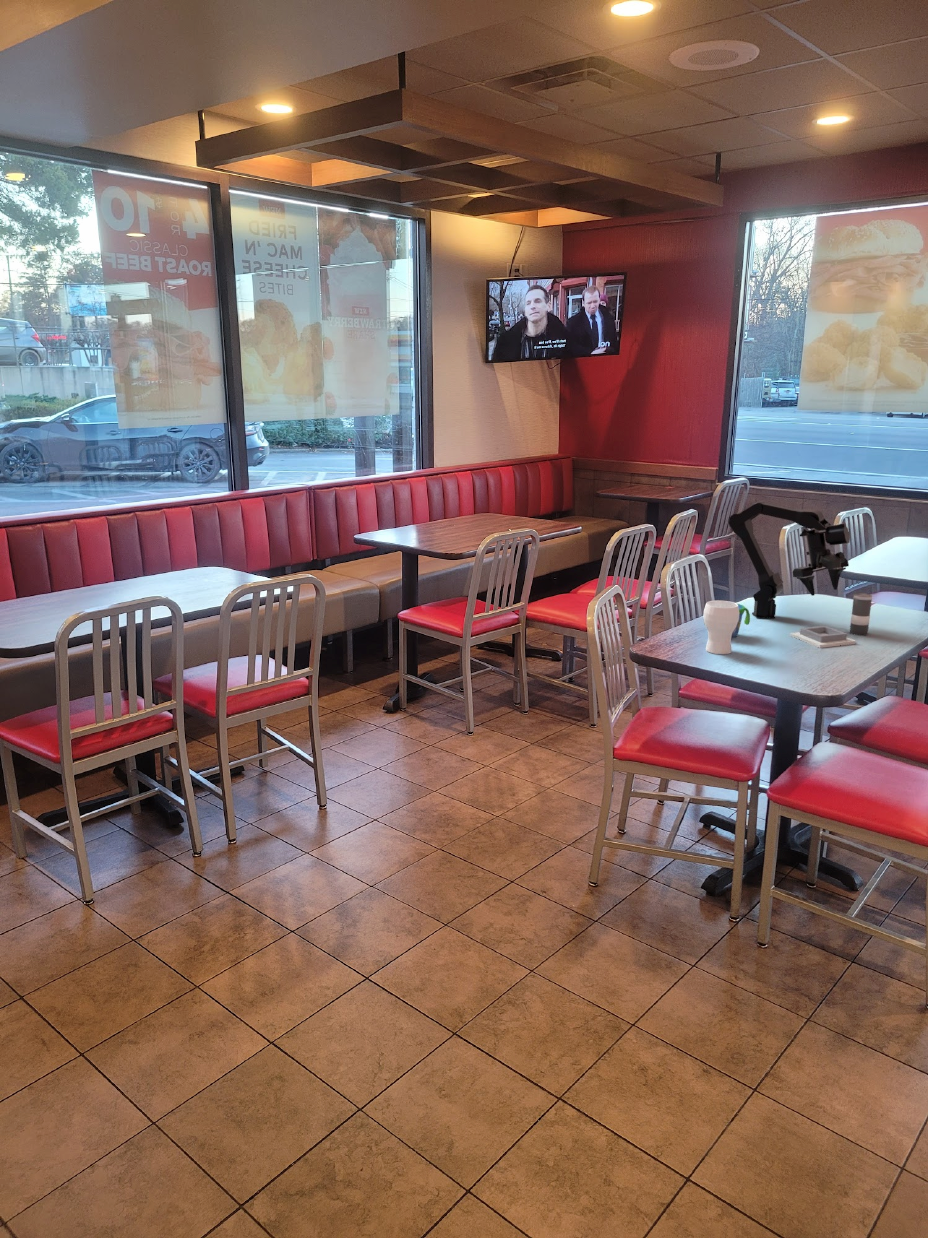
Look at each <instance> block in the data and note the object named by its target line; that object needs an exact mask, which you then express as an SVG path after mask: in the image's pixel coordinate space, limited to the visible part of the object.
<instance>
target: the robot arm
mask: <svg viewBox="0 0 928 1238" xmlns="http://www.w3.org/2000/svg"><path fill="white" fill-rule="evenodd" d="M759 515H764V516H768V517H773V518H778V519H782V520H785V521H791V522H793V523H795V524H797V525H798V526H801V527H803V530H802V532H801V533H800V534H799V537H806V541H807V548H808V551H806V555H807V556H809V561H810V563H808V564H807V565H808V566H800V567H796V568H793V570H792V577H793V578H796V579H797V580H799V581H800V583H802V584H803V585H804V587H805V589H807V591H808V592H809V594H810V596H815V586H814V585H815V584H814V579H815V575H813V574H814V573H816V572H820V571H824V570H827V571H828V575H829V579H830V583H831V585H832V588H833V590H834V591H837V590H838V586H839V581H840V577H841V574H842V572H844V571H845V570H846V569H847V567H849V566H850V565H849V560H848V559H847V558H846V557H845V553H844V552H842V551H840V552H839V551H838V552H836V553H832V552H831V549H830V548H827V544H829V546H831V547H832V546H838V545H839V546H840V545H846V544H849V543H850V541H851V533H850V531H849V528H848V526H847V524H846V522H842V523H839V524H833V525H832V523H830V522H829V521H828V520H827V519H826V518H825V517H824V514H823V512H822V510H819V509H796V508H791V507H786V506H782V505H778V504H773V503H768V502H765V501H762V500H761V501H757V502H755V503H753V504H752V505H751V506H749V507H747V508H746V509H744V510H743V511H739V512H737V513H733V514H731V515H730V517H729V518H728V521H727V522H728V526H729V527H730V529H731V530H732V532H733V534H735V535H736V536H737V537H738V538H739V539H740V541H741V543H742V544H743V547H744V549H745V551H746V553H747V555H748V557H749V559H750V562H751V563H752V566H753V568H754V570H755V572H756V574H757V579H758V587H759V590H758V591H756V592H755V593H754V594H753V600H754V603H753V604H754V605H753V612H752V613H751V615H753V616H754V618H756V619H776V612H777V611H776V610H777V604H776V600H775V599H776V598H777V597H778V595H779V594H781V592H782V591H783V588H784V586H783V583H784V581H783V580H782V578H781V576H780V573H779V572H773V571H772V570H771V567H770V566H769V564H768V562H767V560H766V559H767V558H765V555H764V553H763V551H762V550H761V549H762V548H761V547H760V544H759V543H758V541H757V538H756V537H755V535H754V526H753V521H752V520H754V519H756V518H757V517H758V516H759Z"/></svg>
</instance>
